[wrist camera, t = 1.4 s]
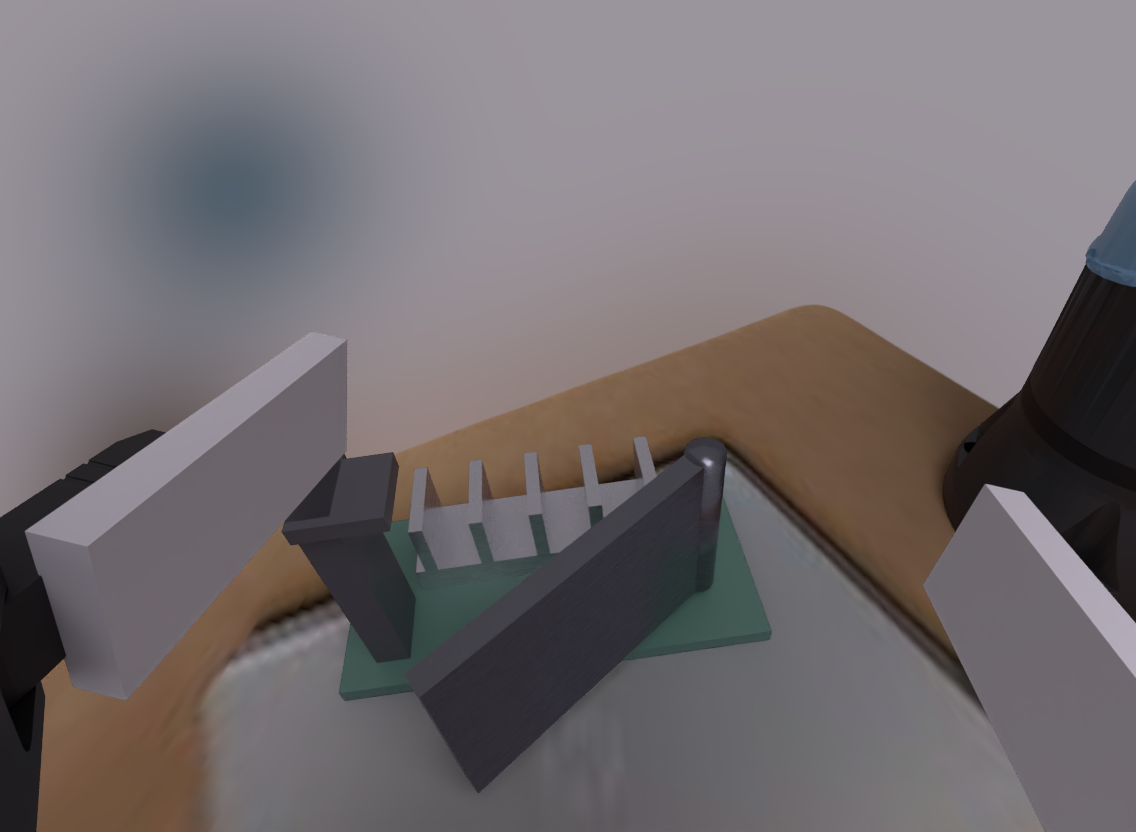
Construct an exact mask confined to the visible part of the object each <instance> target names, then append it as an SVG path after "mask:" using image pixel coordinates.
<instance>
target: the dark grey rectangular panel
mask: <svg viewBox="0 0 1136 832" xmlns="http://www.w3.org/2000/svg"><path fill="white" fill-rule="evenodd" d="M726 457H727V451H726V448H725V446H724V445H723V444H722V443H721V442H719V441H718V440H716V439H713V438H708V437H701V438H696V439H694V440H692V441H690V442H689V443H688V444H687V445H686V447H685V455H684V456H682V457H681V458H680V459H679V460H677V461H676V462H675V463H673V464H672V465H671V466H670V467H668V468H667V469H666V470H664V471H663V472H662V473H661V474H659V475H658V476H657V477H655V478H654V479H653V480H652V481H650V482H649V483H648V484H647V485H645V486H644V487H643V488H641V489H640V490H639V491H638V492H636V493H635V494H634V495H632V496H631V497H630V498H629V499H627V500H626V501H625V502H623V503H622V504H621V505H620V506H618V507H617V508H616V509H614V510H613V511H612V512H611V513H609V514H608V515H607V516H605V517H604V518H603V519H602V520H600V521H599V522H598V523H597V524H595V525H594V526H593V527H591V528H590V529H589V530H588V531H586V532H585V533H584V534H582V535H581V536H580V537H579V538H577V539H576V540H575V541H573V542H572V543H571V544H570V545H568V546H567V547H566V548H564V549H563V550H562V551H561V552H559V553H558V554H557V555H555V556H554V557H553V558H552V559H550V560H549V561H548V562H547V563H545V564H544V565H543V566H541V567H540V568H539V569H538V570H536V571H535V572H534V573H532V574H531V575H530V576H529V577H527V578H526V579H525V580H523V581H522V582H521V583H520V584H518V585H517V586H516V587H514V588H513V589H512V590H511V591H509V592H508V593H507V594H506V595H504V596H503V597H502V598H500V599H499V600H498V601H497V602H495V603H494V604H493V605H491V606H490V607H489V608H488V609H486V610H485V611H484V612H482V613H481V614H480V615H479V616H477V617H476V618H475V619H473V620H472V621H471V622H470V623H468V624H467V625H466V626H464V627H463V628H462V629H461V630H459V631H458V632H457V633H456V634H454V635H453V636H452V637H450V638H449V639H448V640H447V641H445V642H444V643H443V644H441V645H440V646H439V647H438V648H436V649H435V650H434V651H432V652H431V653H430V654H429V655H427V656H426V657H425V658H423V659H422V660H421V661H420V662H418V663H417V664H416V665H414V666H413V667H412V668H411V669H409V670H408V671H407V672H406V673H404V676H405V677H406V679H407V681H408V682H409V684H410V685H411V687H412V689H413V690H414V692H415V694H416V695H417V697H418V699H419V700H420V702H421V703H422V705H423V707H424V708H425V710H426V712H427V713H428V715H429V716H430V718H431V720H432V721H433V723H434V725H435V726H436V728H437V729H438V731H439V733H440V734H441V736H442V738H443V739H444V741H445V742H446V744H447V746H448V747H449V749H450V751H451V752H452V754H453V756H454V757H455V759H456V760H457V762H458V764H459V765H460V767H461V769H462V770H463V772H464V773H465V775H466V776H467V778H468V779H469V781H470V782H471V784H472V785H473V787H474V788H475V790H476V791H477V792H478V793H479V792H480V791H481V790H482V789H484V788H485V787H486V786H487V785H488V784H489V783H490V782H491V781H492V780H493V779H494V778H495V777H496V776H498V775H499V774H500V773H501V772H502V771H503V770H504V769H505V768H506V767H507V766H508V765H509V764H511V763H512V762H513V761H514V760H515V759H516V758H517V757H518V756H519V755H520V754H521V753H522V752H523V751H525V750H526V749H527V748H528V747H529V746H530V745H531V744H532V743H533V742H534V741H535V740H536V739H538V738H539V737H540V736H541V735H542V734H543V733H544V732H545V731H546V730H547V729H548V728H549V727H550V726H552V725H553V724H554V723H555V722H556V721H557V720H558V719H559V718H560V717H561V716H562V715H563V714H564V713H566V712H567V711H568V710H569V709H570V708H571V707H572V706H573V705H574V704H575V703H576V702H577V701H579V700H580V699H581V698H582V697H583V696H584V695H585V694H586V693H587V692H588V691H589V690H590V689H591V688H593V687H594V686H595V685H596V684H597V683H598V682H599V681H600V680H601V679H602V678H603V677H604V676H606V675H607V674H608V673H609V672H610V671H611V670H612V669H613V668H614V667H615V666H616V665H617V664H618V663H620V662H621V661H622V660H623V659H624V658H625V657H626V656H627V655H628V654H629V653H630V652H631V651H632V650H634V649H635V648H636V647H637V646H638V645H639V644H640V643H641V642H642V641H643V640H644V639H645V638H647V637H648V636H649V635H650V634H651V633H652V632H653V631H654V630H655V629H656V628H657V627H658V626H659V625H661V624H662V623H663V622H664V621H665V620H666V619H667V618H668V617H669V616H670V615H671V614H672V613H673V612H675V611H676V610H677V609H678V608H679V607H680V606H681V605H682V604H683V603H684V602H685V601H686V600H688V599H689V598H690V597H691V596H692V595H693V594H694V593H695V592H703V591H706V590H708V589H709V588H710V587H711V586H712V584H713V581H714V572H715V563H716V553H717V544H718V534H719V524H720V515H721V505H722V495H723V486H724V476H725V467H726Z"/></svg>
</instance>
